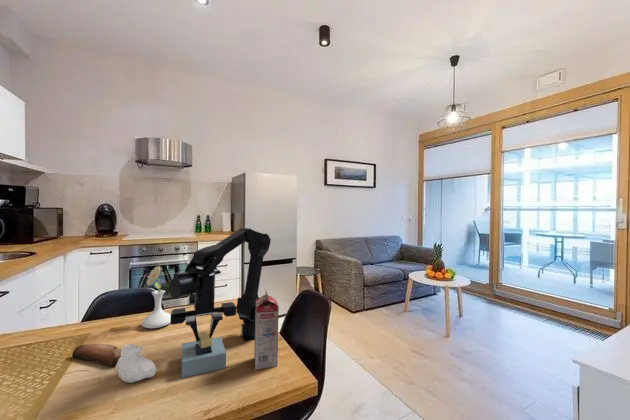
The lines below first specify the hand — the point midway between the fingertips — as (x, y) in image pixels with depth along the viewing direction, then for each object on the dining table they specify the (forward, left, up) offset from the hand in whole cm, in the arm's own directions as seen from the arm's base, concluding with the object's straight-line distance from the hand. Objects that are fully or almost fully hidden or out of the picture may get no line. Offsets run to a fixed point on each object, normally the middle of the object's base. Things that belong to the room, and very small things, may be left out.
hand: (203, 339), depth 84 cm
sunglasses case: (+28, -17, -8) cm, 34 cm away
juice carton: (-18, +8, -7) cm, 21 cm away
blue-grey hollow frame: (0, 0, -7) cm, 7 cm away
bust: (+18, +1, -7) cm, 20 cm away
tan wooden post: (0, 0, -1) cm, 1 cm away
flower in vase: (+15, -37, -7) cm, 41 cm away
